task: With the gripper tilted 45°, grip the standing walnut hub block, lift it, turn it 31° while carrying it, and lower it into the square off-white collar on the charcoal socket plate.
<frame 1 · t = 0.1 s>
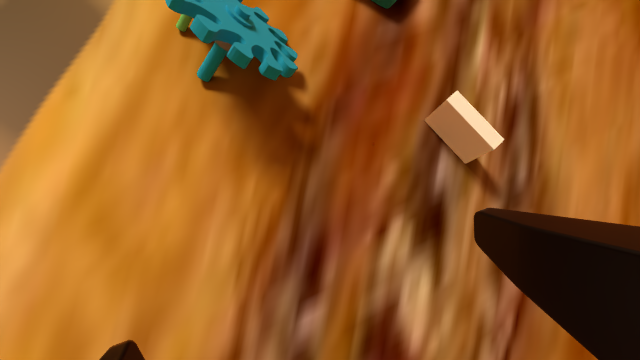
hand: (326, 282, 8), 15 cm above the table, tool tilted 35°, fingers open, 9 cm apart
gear: (237, 52, 26), on the table
eraser: (447, 138, 27), on the table
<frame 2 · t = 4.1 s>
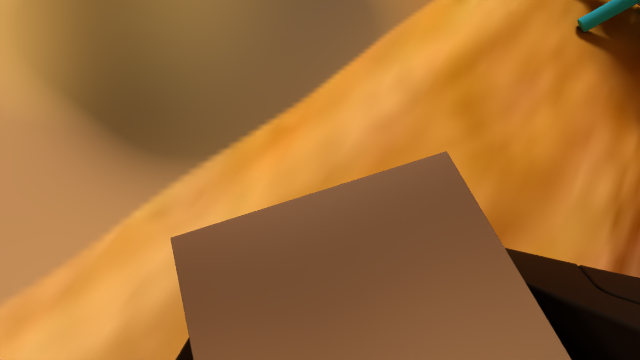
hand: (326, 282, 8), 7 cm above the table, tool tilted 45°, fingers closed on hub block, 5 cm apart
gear: (611, 23, 24), on the table
hub block: (323, 338, 14), on the table, touching gripper
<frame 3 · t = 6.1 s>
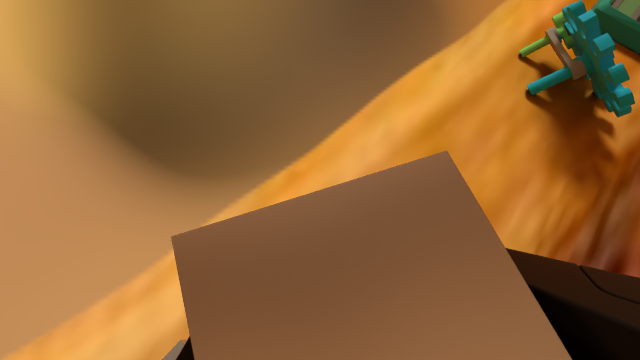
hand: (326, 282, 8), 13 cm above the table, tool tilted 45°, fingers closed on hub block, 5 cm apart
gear: (556, 87, 31), on the table
hub block: (323, 337, 14), point 7 cm above the table, touching gripper
when the fingers open (9 cm above the table, at t = 8.6 s): hub block drops 1 cm, resting on socket plate.
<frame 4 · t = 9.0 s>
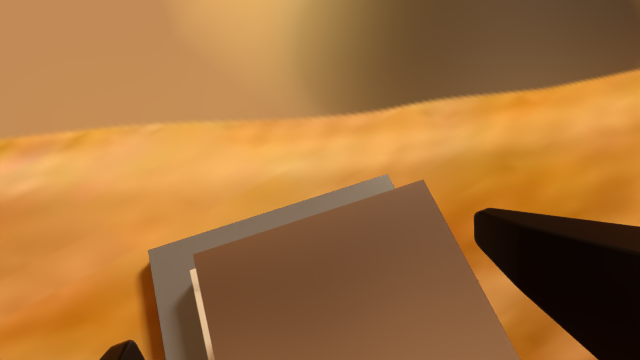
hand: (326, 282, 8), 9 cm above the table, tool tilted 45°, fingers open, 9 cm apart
socket plate: (319, 337, 16), on the table
hub block: (321, 337, 15), point 1 cm above the table, touching socket plate
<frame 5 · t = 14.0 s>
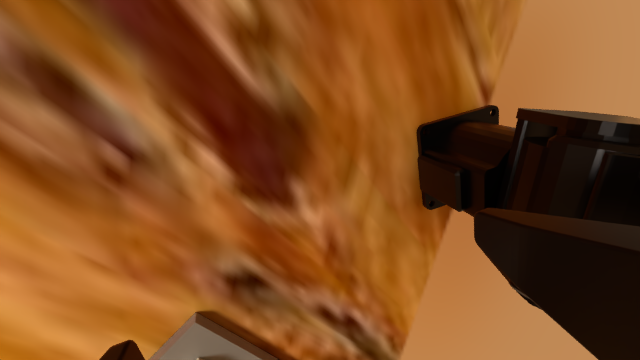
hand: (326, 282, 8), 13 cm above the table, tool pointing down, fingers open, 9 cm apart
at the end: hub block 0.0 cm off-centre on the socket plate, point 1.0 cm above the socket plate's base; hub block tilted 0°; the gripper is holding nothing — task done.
